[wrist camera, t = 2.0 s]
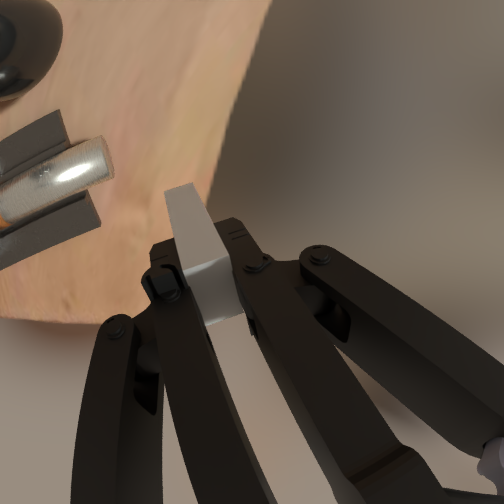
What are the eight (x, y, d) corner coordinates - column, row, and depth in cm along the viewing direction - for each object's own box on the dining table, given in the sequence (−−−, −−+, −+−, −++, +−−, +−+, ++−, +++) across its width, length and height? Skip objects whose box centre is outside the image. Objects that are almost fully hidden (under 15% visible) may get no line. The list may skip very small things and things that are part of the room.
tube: (-10, 236, 23) (-29, 247, 19) (-21, 202, 22) (-41, 208, 18) (117, 177, 27) (108, 179, 23) (106, 137, 25) (96, 132, 21)
